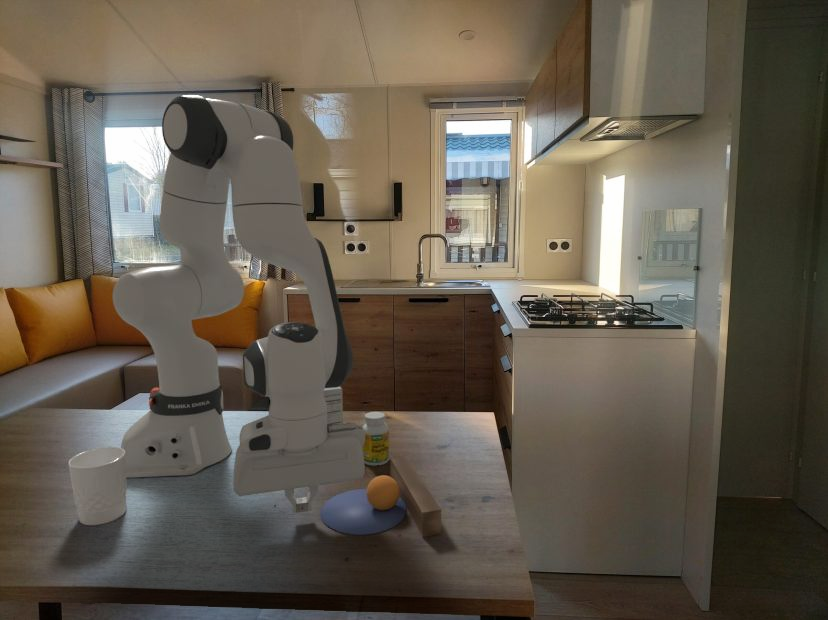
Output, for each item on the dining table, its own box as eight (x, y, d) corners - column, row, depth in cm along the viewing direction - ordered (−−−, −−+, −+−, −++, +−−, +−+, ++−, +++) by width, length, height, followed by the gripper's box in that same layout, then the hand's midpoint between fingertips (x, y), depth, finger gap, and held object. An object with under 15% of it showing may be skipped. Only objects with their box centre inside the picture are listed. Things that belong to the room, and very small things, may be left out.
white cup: (70, 532, 82) (63, 471, 81) (79, 508, 89) (73, 451, 88) (128, 521, 85) (122, 462, 84) (132, 498, 92) (127, 443, 91)
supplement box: (301, 438, 119) (299, 382, 117) (333, 432, 122) (332, 378, 120) (310, 450, 112) (308, 392, 110) (344, 443, 115) (343, 387, 113)
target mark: (326, 541, 80) (326, 540, 80) (316, 496, 93) (316, 495, 93) (416, 526, 84) (416, 525, 84) (394, 485, 97) (394, 484, 97)
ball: (401, 515, 87) (368, 517, 86) (392, 500, 92) (361, 501, 91) (405, 483, 87) (372, 483, 85) (396, 469, 92) (365, 470, 90)
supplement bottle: (380, 452, 111) (380, 408, 109) (394, 462, 106) (393, 416, 105) (357, 459, 108) (356, 413, 106) (370, 469, 103) (369, 421, 102)
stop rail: (422, 537, 81) (422, 512, 80) (390, 477, 100) (390, 457, 99) (441, 533, 82) (441, 509, 81) (405, 475, 101) (405, 455, 100)
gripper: (360, 414, 89) (362, 492, 91) (231, 427, 83) (236, 510, 86) (368, 428, 83) (369, 510, 85) (229, 443, 77) (234, 531, 80)
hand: (301, 510), depth 85 cm, fingers closed
